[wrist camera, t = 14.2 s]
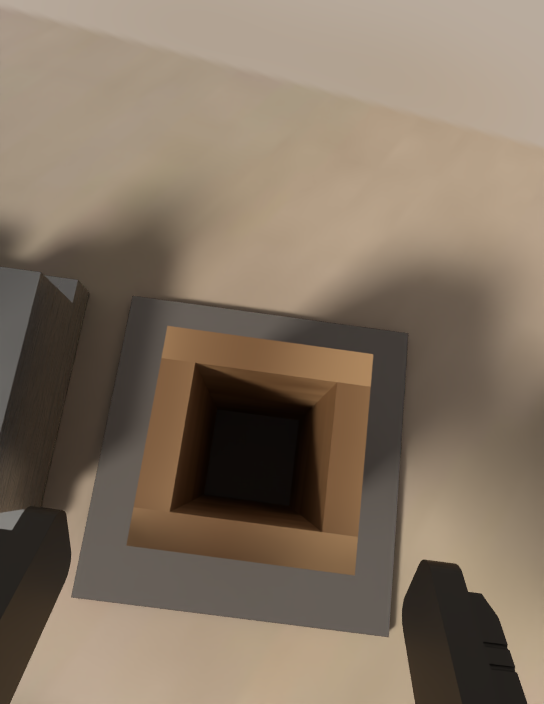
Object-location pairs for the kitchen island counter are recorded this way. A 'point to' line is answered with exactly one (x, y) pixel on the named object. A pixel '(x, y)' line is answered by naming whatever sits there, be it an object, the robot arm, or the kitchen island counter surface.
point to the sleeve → (268, 400)
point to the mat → (244, 484)
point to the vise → (33, 379)
